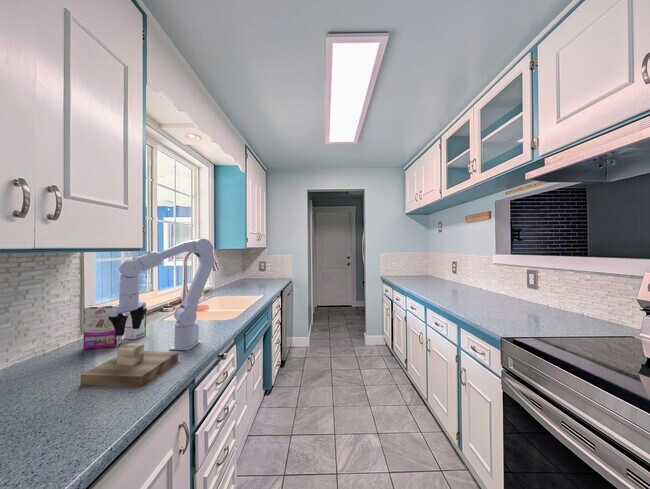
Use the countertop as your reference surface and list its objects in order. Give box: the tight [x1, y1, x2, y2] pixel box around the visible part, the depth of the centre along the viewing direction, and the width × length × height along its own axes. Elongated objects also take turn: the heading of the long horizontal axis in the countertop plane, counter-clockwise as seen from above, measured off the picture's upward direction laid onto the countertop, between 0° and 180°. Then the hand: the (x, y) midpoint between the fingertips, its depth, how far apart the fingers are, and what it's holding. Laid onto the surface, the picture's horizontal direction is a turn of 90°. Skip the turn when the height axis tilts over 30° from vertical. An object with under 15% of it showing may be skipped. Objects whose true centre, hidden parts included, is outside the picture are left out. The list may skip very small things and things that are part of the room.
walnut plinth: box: [80, 350, 179, 388], centre depth 87 cm, size 18×18×3 cm
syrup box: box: [123, 306, 147, 340], centre depth 120 cm, size 6×6×14 cm
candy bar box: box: [83, 303, 123, 350], centre depth 108 cm, size 11×5×16 cm, turn 105°
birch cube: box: [116, 343, 145, 366], centre depth 87 cm, size 5×5×5 cm
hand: (128, 331), depth 97 cm, fingers open, 7 cm apart
